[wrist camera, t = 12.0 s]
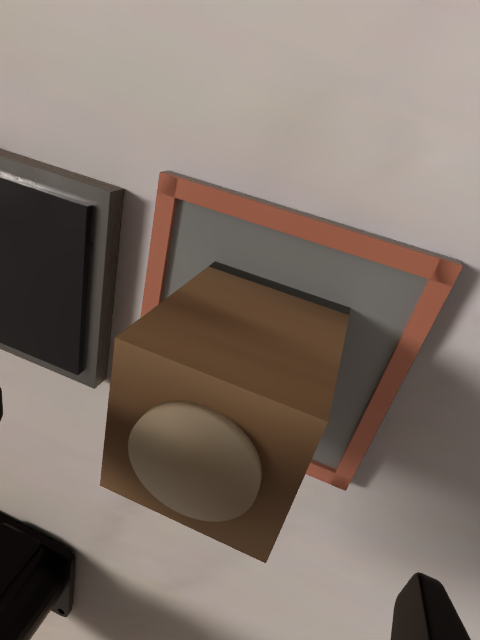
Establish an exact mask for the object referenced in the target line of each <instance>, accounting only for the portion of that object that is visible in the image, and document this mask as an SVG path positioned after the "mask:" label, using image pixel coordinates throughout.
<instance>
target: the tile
mask: <svg viewBox="0 0 480 640" xmlns="http://www.w3.org/2000/svg"><path fill="white" fill-rule="evenodd" d="M215 261H216V262H219V263H222V264H225V265H228V266H231V267H234V268H237V269H239V270H242V271H245V272H248V273H251V274H254V275H257V276H260V277H263V278H266V279H268V280H271V281H274V282H277V283H280V284H283V285H286V286H289V287H292V288H295V289H298V290H300V291H303V292H306V293H309V294H312V295H315V296H318V297H321V298H324V299H327V300H330V301H332V302H335V303H338V304H341V305H344V306H347V307H350V308H351V309H350V314H349V319H348V324H347V329H346V335H345V340H344V345H343V350H342V355H341V360H340V365H339V370H338V375H337V380H336V385H335V390H334V395H333V400H332V405H331V410H330V415H329V420H328V424H327V426H326V428H325V430H324V433H323V435H322V437H321V440H320V442H319V444H318V446H317V449H316V451H315V453H314V455H313V458H312V460H311V462H310V464H309V467H308V469H307V471H306V473H305V474H307V475H309V476H312V477H314V478H316V479H319V480H321V481H324V482H326V483H328V484H331V485H333V486H335V487H338V488H340V489H343V490H345V491H346V489H347V487H348V485H349V483H350V482H351V480H352V478H353V476H354V474H355V472H356V470H357V468H358V466H359V464H360V462H361V461H362V459H363V457H364V455H365V453H366V451H367V449H368V447H369V445H370V443H371V441H372V439H373V438H374V436H375V434H376V432H377V430H378V428H379V426H380V424H381V422H382V420H383V418H384V417H385V415H386V413H387V411H388V409H389V407H390V405H391V403H392V401H393V399H394V397H395V395H396V394H397V392H398V390H399V388H400V386H401V384H402V382H403V380H404V378H405V376H406V374H407V373H408V371H409V369H410V367H411V365H412V363H413V361H414V359H415V357H416V355H417V353H418V351H419V350H420V348H421V346H422V344H423V342H424V340H425V338H426V336H427V334H428V332H429V330H430V329H431V327H432V325H433V323H434V321H435V319H436V317H437V315H438V313H439V311H440V309H441V307H442V306H443V304H444V302H445V300H446V298H447V296H448V294H449V292H450V290H451V288H452V286H453V285H454V283H455V281H456V279H457V277H458V275H459V273H460V271H461V269H462V267H463V266H462V264H461V262H460V260H457V259H454V258H451V257H447V256H444V255H441V254H438V253H434V252H431V251H428V250H425V249H421V248H418V247H415V246H412V245H408V244H405V243H402V242H399V241H396V240H392V239H389V238H386V237H383V236H379V235H376V234H373V233H370V232H366V231H363V230H360V229H357V228H353V227H350V226H347V225H344V224H340V223H337V222H334V221H331V220H328V219H324V218H321V217H318V216H315V215H311V214H308V213H305V212H302V211H298V210H295V209H292V208H289V207H285V206H282V205H279V204H276V203H272V202H269V201H266V200H263V199H260V198H256V197H253V196H250V195H247V194H243V193H240V192H237V191H234V190H230V189H227V188H224V187H221V186H217V185H214V184H211V183H208V182H204V181H201V180H198V179H195V178H192V177H188V176H185V175H182V174H179V173H175V172H172V171H163V172H160V175H159V182H158V190H157V197H156V205H155V212H154V220H153V228H152V235H151V243H150V250H149V258H148V265H147V273H146V281H145V288H144V296H143V303H142V311H141V317H143V316H144V315H145V314H147V313H148V312H149V311H150V310H152V309H153V308H154V307H156V306H157V305H158V304H160V303H161V302H162V301H164V300H165V299H166V298H168V297H169V296H170V295H171V294H173V293H174V292H175V291H177V290H178V289H179V288H181V287H182V286H183V285H185V284H186V283H187V282H188V281H190V280H191V279H192V278H194V277H195V276H196V275H198V274H199V273H200V272H202V271H203V270H204V269H206V268H207V267H208V266H209V265H211V264H212V263H213V262H215Z"/></svg>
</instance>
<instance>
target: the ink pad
mask: <svg viewBox="0 0 480 640" xmlns="http://www.w3.org/2000/svg"><path fill="white" fill-rule="evenodd" d="M123 194H124V189H123V188H120V187H117V186H114V185H111V184H108V183H105V182H101V181H98V180H95V179H92V178H89V177H86V176H83V175H80V174H77V173H74V172H71V171H68V170H64V169H61V168H58V167H55V166H52V165H49V164H46V163H43V162H40V161H37V160H34V159H30V158H27V157H24V156H21V155H18V154H15V153H12V152H9V151H6V150H3V149H0V349H2V350H4V351H7V352H9V353H12V354H14V355H16V356H19V357H21V358H23V359H26V360H28V361H30V362H33V363H35V364H38V365H40V366H42V367H45V368H47V369H49V370H52V371H54V372H56V373H59V374H61V375H63V376H66V377H68V378H71V379H73V380H75V381H78V382H80V383H82V384H85V385H87V386H89V387H92V388H94V389H95V388H96V387H97V386H98V385H99V384H101V383H102V382H103V381H104V380H105V379H106V375H107V364H108V354H109V343H110V333H111V322H112V311H113V301H114V290H115V279H116V269H117V258H118V247H119V237H120V226H121V215H122V205H123Z"/></svg>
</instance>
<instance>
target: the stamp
mask: <svg viewBox="0 0 480 640" xmlns="http://www.w3.org/2000/svg"><path fill="white" fill-rule="evenodd" d="M350 309H351V308H350V307H347V306H344V305H341V304H338V303H335V302H332V301H330V300H327V299H324V298H321V297H318V296H315V295H312V294H309V293H306V292H303V291H300V290H298V289H295V288H292V287H289V286H286V285H283V284H280V283H277V282H274V281H271V280H268V279H266V278H263V277H260V276H257V275H254V274H251V273H248V272H245V271H242V270H239V269H237V268H234V267H231V266H228V265H225V264H222V263H219V262H216V261H215V262H213V263H212V264H211V265H209V266H208V267H207V268H206V269H204V270H203V271H202V272H200V273H199V274H198V275H196V276H195V277H194V278H192V279H191V280H190V281H188V282H187V283H186V284H185V285H183V286H182V287H181V288H179V289H178V290H177V291H175V292H174V293H173V294H171V295H170V296H169V297H168V298H166V299H165V300H164V301H162V302H161V303H160V304H158V305H157V306H156V307H154V308H153V309H152V310H150V311H149V312H148V313H147V314H145V315H144V316H143V317H141V318H140V319H139V320H137V321H136V322H135V323H133V324H132V325H131V326H129V327H128V328H127V329H126V330H124V331H123V332H122V333H120V334H119V335H118V336H116V337H115V342H114V352H113V361H112V371H111V381H110V391H109V401H108V411H107V421H106V431H105V440H104V450H103V460H102V470H101V480H100V486H102V487H104V488H107V489H109V490H111V491H113V492H115V493H117V494H119V495H121V496H124V497H126V498H128V499H130V500H132V501H134V502H136V503H138V504H141V505H143V506H145V507H147V508H149V509H151V510H153V511H156V512H158V513H160V514H162V515H164V516H166V517H168V518H170V519H173V520H175V521H177V522H179V523H181V524H183V525H185V526H187V527H190V528H192V529H194V530H196V531H198V532H200V533H202V534H204V535H207V536H209V537H211V538H213V539H215V540H217V541H219V542H222V543H224V544H226V545H228V546H230V547H232V548H234V549H236V550H239V551H241V552H243V553H245V554H247V555H249V556H251V557H253V558H256V559H258V560H260V561H262V562H264V563H266V562H267V560H268V557H269V555H270V553H271V550H272V548H273V546H274V544H275V541H276V539H277V537H278V535H279V532H280V530H281V528H282V526H283V523H284V521H285V519H286V516H287V514H288V512H289V510H290V507H291V505H292V503H293V501H294V498H295V496H296V494H297V492H298V489H299V487H300V485H301V483H302V480H303V478H304V476H305V473H306V471H307V469H308V467H309V464H310V462H311V460H312V458H313V455H314V453H315V451H316V449H317V446H318V444H319V442H320V440H321V437H322V435H323V433H324V430H325V428H326V426H327V424H328V420H329V415H330V410H331V405H332V400H333V395H334V390H335V385H336V380H337V375H338V370H339V365H340V360H341V355H342V350H343V345H344V340H345V335H346V329H347V324H348V319H349V314H350Z"/></svg>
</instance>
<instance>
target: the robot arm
mask: <svg viewBox="0 0 480 640" xmlns="http://www.w3.org/2000/svg"><path fill="white" fill-rule="evenodd" d="M2 415H3V404H2V390H1V388H0V421H1V418H2ZM75 559H76V558H75V555H74V553H73V552H72V551H70V550H69V549H67V548H65V547H63V546H61V545H59V544H57V543H55V542H53V541H51V540H49V539H47V538H45V537H43V536H41V535H39V534H38V533H36V532H34V531H32V530H30V529H28V528H26V527H24V526H22V525H20V524H18V523H16V522H14V521H12V520H10V519H8V518H6V517H4V516H2V515H0V640H30V639H31V638H32V636H33V635H34V633H35V632H36V630H37V629H38V628H39V626H40V625H41V623H42V622H43V620H44V619H45V618H46V616H47V615H48V613H49V612H50V610H51V611H53V612H55V613H57V614H59V615H61V616H63V617H67V616H68V615H69V613H70V612H71V610H72V604H73V589H74V574H75ZM391 640H471V639H470V637H469V635H468V633H467V631H466V629H465V627H464V625H463V623H462V621H461V620H460V618H459V616H458V614H457V612H456V610H455V608H454V606H453V604H452V602H451V600H450V598H449V596H448V594H447V592H446V590H445V588H444V587H443V585H442V584H441V583H440V582H439V581H438V580H436V579H434V578H432V577H429V576H427V575H425V574H423V573H420V572H418V573H415V574H414V575H413V576H412V577H411V579H410V580H409V581H408V583H407V584H406V585H405V587H404V588H403V589H402V591H401V592H400V593H399V595H398V597H397V599H396V602H395V606H394V614H393V623H392V632H391Z"/></svg>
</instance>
